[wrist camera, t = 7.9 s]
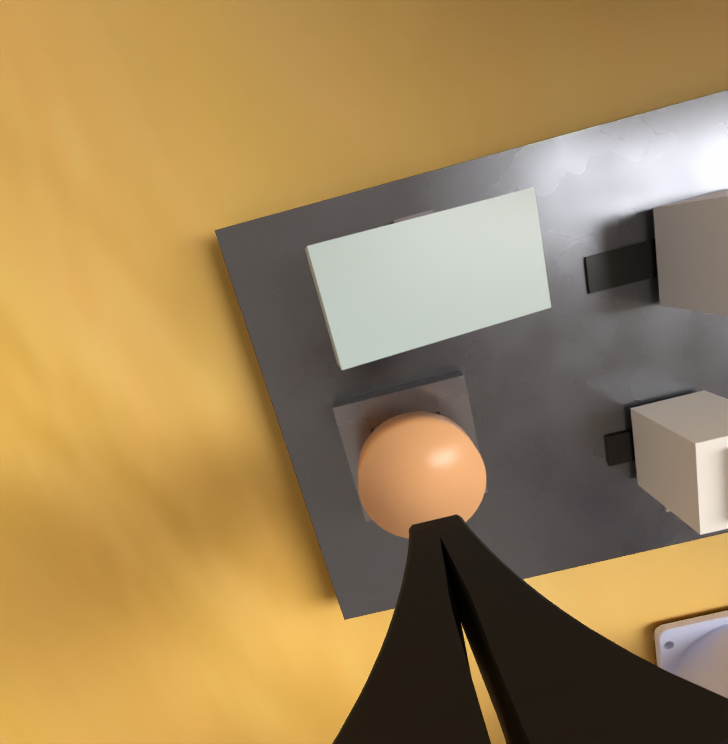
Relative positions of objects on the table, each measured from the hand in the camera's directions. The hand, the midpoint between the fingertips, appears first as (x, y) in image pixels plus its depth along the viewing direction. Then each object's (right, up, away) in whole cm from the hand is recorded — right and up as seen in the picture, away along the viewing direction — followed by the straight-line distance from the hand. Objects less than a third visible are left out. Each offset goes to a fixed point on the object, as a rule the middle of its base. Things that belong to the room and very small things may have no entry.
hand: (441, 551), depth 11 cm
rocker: (0, +8, +3) cm, 9 cm away
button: (0, +1, +5) cm, 5 cm away
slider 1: (+10, +9, +4) cm, 15 cm away
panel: (+9, +5, +7) cm, 13 cm away
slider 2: (+11, +2, +6) cm, 13 cm away
